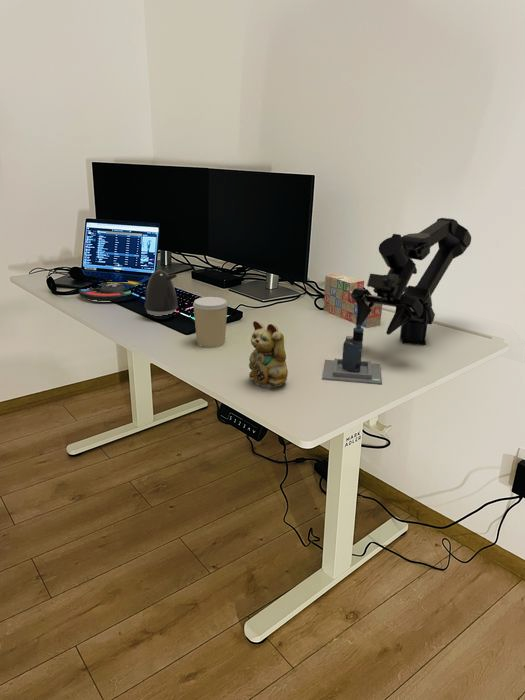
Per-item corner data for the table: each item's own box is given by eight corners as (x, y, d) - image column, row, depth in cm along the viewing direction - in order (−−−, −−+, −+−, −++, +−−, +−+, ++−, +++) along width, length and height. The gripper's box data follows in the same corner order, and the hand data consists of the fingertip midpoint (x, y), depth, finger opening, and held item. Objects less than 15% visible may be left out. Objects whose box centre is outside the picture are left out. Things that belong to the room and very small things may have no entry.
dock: (380, 365, 138) (380, 359, 138) (382, 384, 127) (382, 378, 127) (324, 361, 140) (325, 355, 140) (321, 379, 129) (322, 373, 129)
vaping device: (354, 374, 131) (358, 327, 127) (339, 367, 135) (343, 321, 131) (362, 372, 133) (366, 325, 128) (347, 365, 137) (350, 319, 132)
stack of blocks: (381, 325, 170) (384, 286, 165) (365, 328, 166) (369, 289, 162) (337, 308, 187) (339, 272, 182) (322, 310, 183) (325, 274, 179)
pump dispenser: (173, 323, 166) (171, 275, 161) (140, 321, 168) (137, 273, 163) (182, 314, 176) (181, 267, 171) (152, 312, 177) (149, 266, 172)
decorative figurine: (242, 382, 126) (242, 321, 121) (262, 371, 133) (263, 312, 128) (277, 393, 121) (279, 329, 116) (296, 381, 128) (298, 320, 123)
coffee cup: (232, 339, 154) (232, 298, 150) (221, 350, 146) (220, 307, 142) (201, 335, 157) (200, 295, 152) (188, 346, 148) (187, 303, 144)
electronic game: (131, 285, 211) (130, 273, 209) (156, 299, 193) (155, 286, 191) (71, 293, 198) (70, 280, 197) (92, 308, 181) (90, 294, 179)
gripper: (354, 257, 141) (328, 308, 138) (418, 263, 128) (390, 320, 125) (372, 281, 148) (347, 329, 145) (434, 289, 135) (409, 343, 132)
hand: (372, 330), depth 137 cm, fingers open, 9 cm apart
